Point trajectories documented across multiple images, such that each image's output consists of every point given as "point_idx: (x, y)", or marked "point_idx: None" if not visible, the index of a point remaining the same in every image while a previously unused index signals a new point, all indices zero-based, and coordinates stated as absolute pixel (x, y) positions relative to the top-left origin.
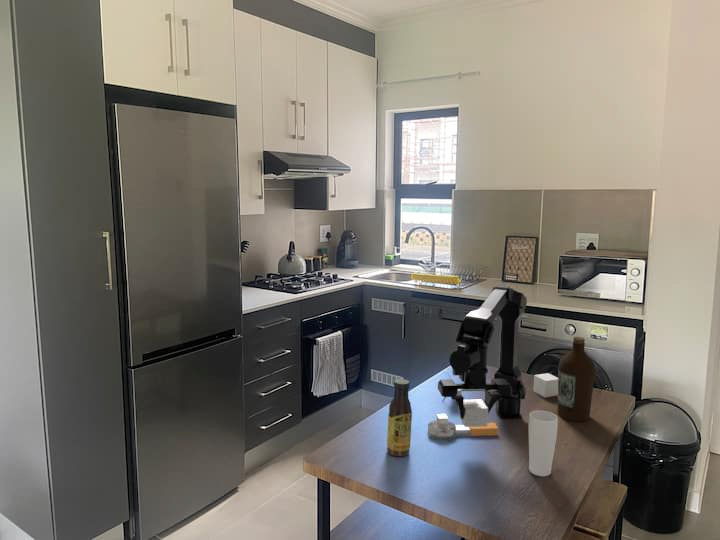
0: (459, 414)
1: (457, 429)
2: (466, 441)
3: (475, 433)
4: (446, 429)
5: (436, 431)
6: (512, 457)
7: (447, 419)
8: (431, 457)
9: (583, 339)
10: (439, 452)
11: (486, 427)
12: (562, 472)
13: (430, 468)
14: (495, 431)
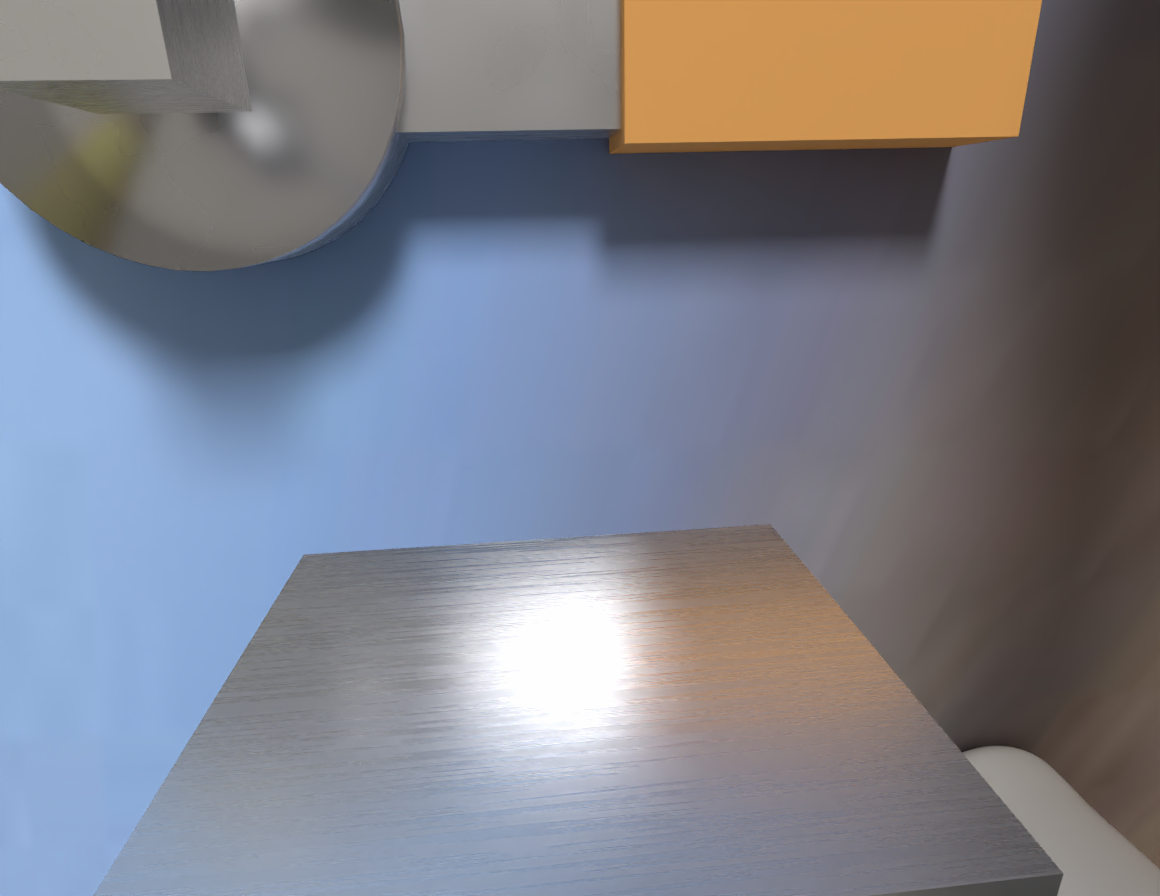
0: (285, 604)
1: (425, 111)
2: (522, 303)
3: (677, 149)
4: (232, 174)
5: (70, 230)
6: (873, 617)
7: (179, 87)
8: (91, 638)
9: None
10: (177, 546)
11: (866, 101)
12: (1122, 794)
13: (90, 803)
14: (951, 141)
